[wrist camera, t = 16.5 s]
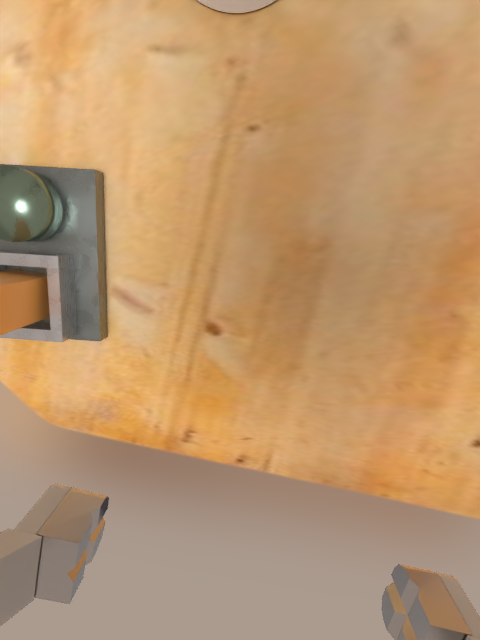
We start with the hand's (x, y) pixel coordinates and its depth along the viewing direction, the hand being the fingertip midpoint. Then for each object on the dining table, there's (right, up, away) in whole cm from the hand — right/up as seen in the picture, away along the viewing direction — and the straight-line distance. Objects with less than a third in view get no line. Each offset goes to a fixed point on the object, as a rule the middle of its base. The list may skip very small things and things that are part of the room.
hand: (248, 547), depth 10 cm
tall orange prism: (-23, +9, +29) cm, 38 cm away
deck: (-22, +14, +30) cm, 40 cm away
